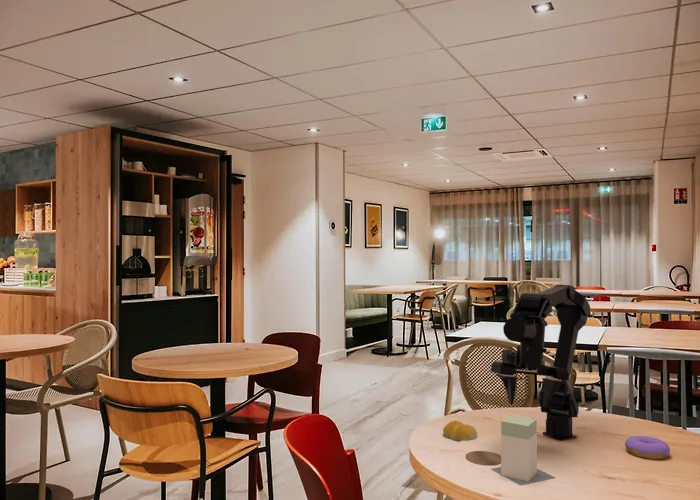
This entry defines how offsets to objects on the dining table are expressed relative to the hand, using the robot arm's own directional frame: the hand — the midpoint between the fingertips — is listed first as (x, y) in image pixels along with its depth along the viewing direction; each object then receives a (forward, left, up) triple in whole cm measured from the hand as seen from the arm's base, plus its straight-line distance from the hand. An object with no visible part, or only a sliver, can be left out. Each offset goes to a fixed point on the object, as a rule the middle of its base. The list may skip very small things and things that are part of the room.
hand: (527, 405), depth 138 cm
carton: (+11, +10, -12) cm, 19 cm away
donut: (-28, +12, -12) cm, 32 cm away
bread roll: (+7, -18, -12) cm, 23 cm away
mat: (+10, +10, -12) cm, 19 cm away
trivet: (+12, -1, -12) cm, 17 cm away
